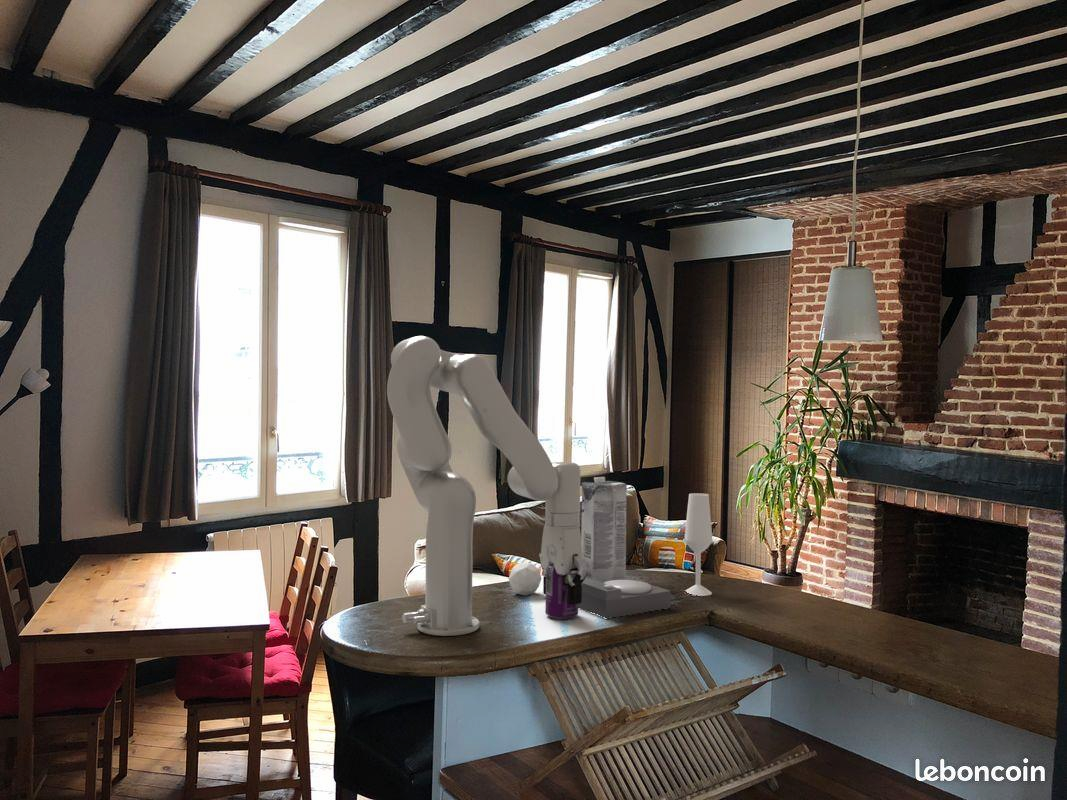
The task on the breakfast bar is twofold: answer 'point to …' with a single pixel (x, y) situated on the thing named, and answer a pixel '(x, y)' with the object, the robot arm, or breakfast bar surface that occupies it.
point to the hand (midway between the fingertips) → (562, 598)
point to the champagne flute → (698, 534)
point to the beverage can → (558, 595)
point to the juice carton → (604, 529)
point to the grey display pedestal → (622, 597)
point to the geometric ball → (525, 578)
